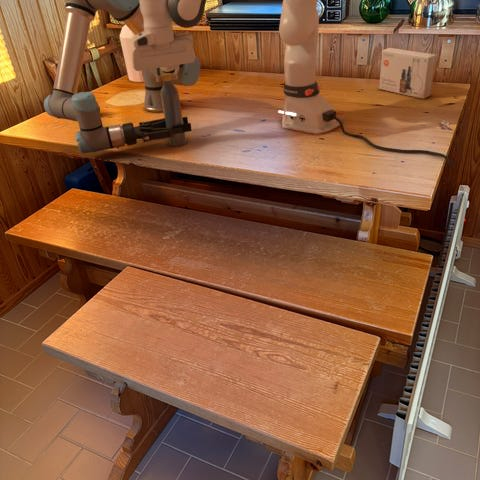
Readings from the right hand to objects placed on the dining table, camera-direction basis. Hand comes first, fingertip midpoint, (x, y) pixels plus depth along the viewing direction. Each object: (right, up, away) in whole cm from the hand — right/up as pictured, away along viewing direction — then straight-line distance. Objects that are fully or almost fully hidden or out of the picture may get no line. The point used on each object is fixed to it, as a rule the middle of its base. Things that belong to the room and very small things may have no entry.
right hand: (167, 80), depth 153 cm
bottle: (+2, -18, +12) cm, 22 cm away
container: (-24, +33, +90) cm, 99 cm away
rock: (-41, +1, +45) cm, 61 cm away
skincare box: (+91, +7, +36) cm, 98 cm away
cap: (0, +1, -1) cm, 1 cm away
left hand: (+6, -12, +10) cm, 17 cm away
